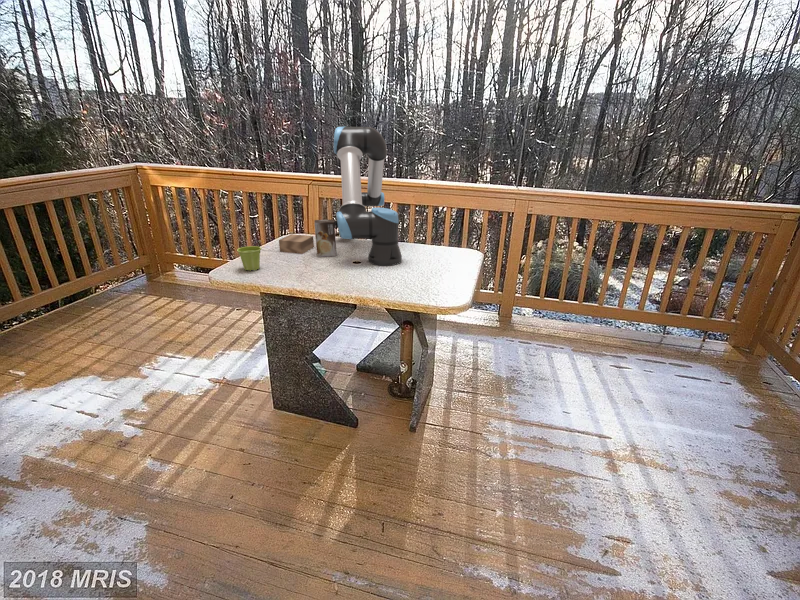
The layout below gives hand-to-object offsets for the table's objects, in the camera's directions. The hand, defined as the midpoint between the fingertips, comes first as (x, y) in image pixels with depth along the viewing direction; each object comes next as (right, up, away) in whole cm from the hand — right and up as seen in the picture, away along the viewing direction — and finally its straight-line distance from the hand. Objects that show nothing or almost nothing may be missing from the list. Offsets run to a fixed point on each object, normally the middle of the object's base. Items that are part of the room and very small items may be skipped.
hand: (332, 230), depth 191 cm
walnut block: (-18, -9, +2) cm, 20 cm away
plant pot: (-29, -21, -26) cm, 44 cm away
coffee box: (-2, -13, -5) cm, 14 cm away
